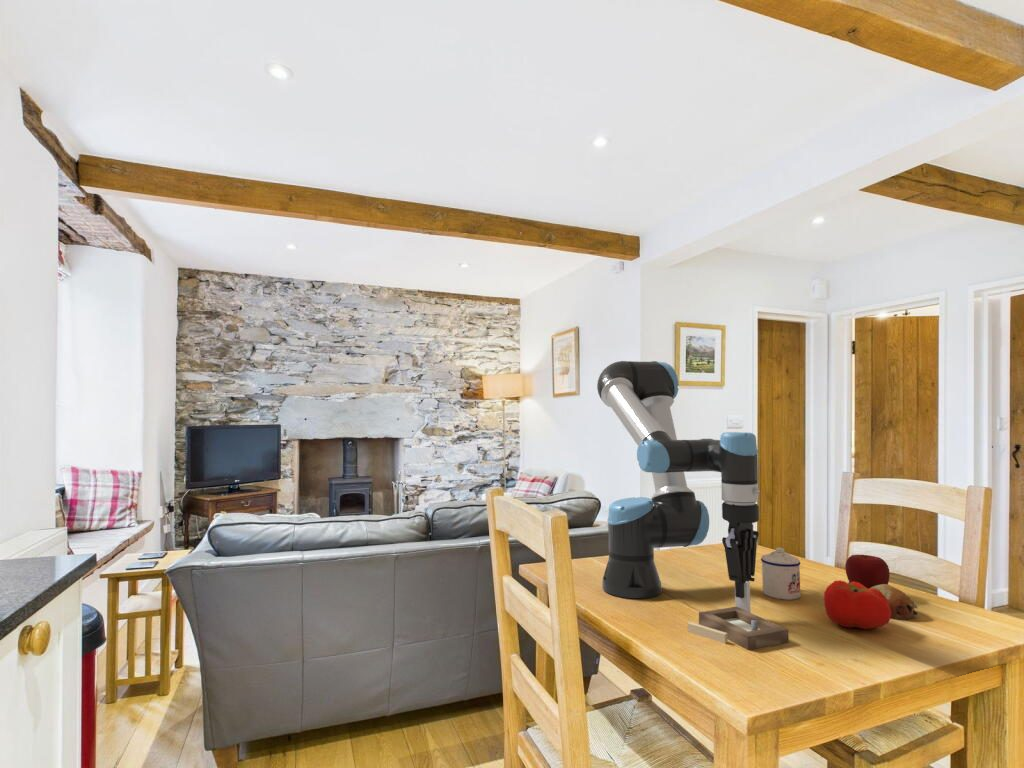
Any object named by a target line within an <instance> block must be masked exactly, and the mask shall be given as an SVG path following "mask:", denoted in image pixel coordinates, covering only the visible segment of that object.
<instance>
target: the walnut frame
mask: <svg viewBox="0 0 1024 768" xmlns="http://www.w3.org/2000/svg"><path fill="white" fill-rule="evenodd" d="M751 620H756V621H758V630H754V631H751ZM698 624H699V625H702V626H705V627H709V628H712V629H715V630H719V631H722V632H725V633H727V641H728V640H729V641H730V642H732V643H734V644H736V645H738V646H740V647H742V648H744V649H746V650H747V651H749V650H750V651H751V650H755V649H759V648H764V647H771V646H776V645H780V644H787V643H789V637H790V636H789V629H787V628H785V627H783V626H781V625H780V624H776V623H774V622H772V621H769V620H768V619H765V618H763V617H761V616H758V615H757V614H754V613H752V612H748V611H745V610H743V609H741V608H739V607H735V606H733V607H732V606H730V607H725V608H719V609H718V608H717V609H713V610H704V611H699V612H698Z"/></svg>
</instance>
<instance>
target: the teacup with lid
mask: <svg viewBox="0 0 1024 768" xmlns="http://www.w3.org/2000/svg"><path fill="white" fill-rule="evenodd" d="M760 561H761V572H762V573H761V574H762V575H761V576H762V593H763V594H764V595H766V596H767V597H769V598H774V599H778V600H784V601H785V600H786V601H788V600H789V601H794V600H797V599H798V600H799V598H801V576H800V575H801V574H800V571H801V570H800V567H801V566H800V565H801V560H800V559H799V558H798V557H795V556H793V555H791V554H790V553H788V552H786V551H785V548H784V547H775V551H771V552H769V553H765V554H763V555H762V556H761V558H760Z"/></svg>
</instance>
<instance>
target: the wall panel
mask: <svg viewBox="0 0 1024 768" xmlns="http://www.w3.org/2000/svg"><path fill="white" fill-rule="evenodd" d="M686 625H687V633H690V634H694V635H696V636H699V637H703V638H706V639H709V640H713V641H715V642H719V643H722V644H727V643H728V639H727V633H725V632H722V631H719V630H715V629H712V628H709V627H705V626H702V625H700V624H699V623H695V622H692V621H689V622H687V623H686ZM754 630H758V621H756V620H751V631H754Z"/></svg>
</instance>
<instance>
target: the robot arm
mask: <svg viewBox="0 0 1024 768" xmlns="http://www.w3.org/2000/svg"><path fill="white" fill-rule="evenodd" d="M599 374H600V375H599V377H598V379H597V383H596V384H597V385H596V386H597V387H596V388H597V393H598V396H599V398H600V400H601V401H602V402H603V404H604V405H605V406H607V407H609V408H610V409H612V411H613V412H614V414H615V415H616V417H617V418H618V419H619V420H620V422H621V424H622V425H623V426H624V428H625V429H626V431H627V432H628V434H629V435H630V436H631V438H632V439H633V441H634V442H635V443H636V445H637V446H638V447H637V449H636V460H637V462H638V466H639V468H640V469H641V471H643V472H644V473H651V475H652V479H653V485H654V489H655V492H654V494H653V495H652V497H651V498H650V497H642V496H639V497H626V498H621V499H617V500H615V501H613V502H611V504H610V505H609V506H608V513H607V514H608V515H607V517H608V518H607V531H608V532H607V533H608V560H607V564H606V566H605V571H604V573H603V577H602V580H601V581H602V583H601V585H602V587H601V588H602V590H603V591H604V592H605V593H607V594H609V595H612V596H615V597H618V598H627V599H647V598H648V599H649V598H654V597H657V596H659V595H661V593H662V581H661V579H660V576H659V572H658V569H657V566H656V563H655V557H654V556H655V553H654V552H655V551H654V549H656V548H657V549H659V548H673V547H675V548H676V547H683V548H687V547H690V546H691V547H692V546H697V545H700V544H701V543H703V542H704V541H705V539H706V538H707V536H708V532H709V529H710V515H709V510H708V507H707V506H706V505H705V503H704V502H703V501H700V500H696V499H697V498H696V494H695V492H694V490H692V489H691V488H689V487H688V484H687V480H686V475H685V472H686V473H689V472H691V473H692V472H693V473H694V472H695V473H696V472H697V473H698V472H699V473H701V472H714V473H715V472H716V473H720V476H721V501H723V503H722V504H721V518H722V519H723V520H724V521H727V523H728V528H727V533H728V534H727V535H728V536H727V537H726V536H725V537H724V536H723V537H722V539H721V541H722V542H721V543H722V544H723V548H724V553H725V561H726V567H727V574H728V575H727V576H728V580H729V581H731V582H732V581H733V582H734V607H739V608H741V609H743V610H745V611H748V612H750V613H752V611H751V588H750V587H751V582H752V583H753V582H755V577H754V576H755V572H756V561H757V560H756V558H757V548H758V547H757V546H758V545H757V544H758V540H759V539H758V538H759V534H760V533H759V531H757V530H754V523H757V522H759V521H760V510H759V509H760V508H759V507H760V505H758V502H759V493H760V491H761V490H760V488H759V485H758V484H759V482H758V481H759V474H758V473H759V470H758V468H759V466H758V459H759V458H758V453H759V450H758V446H757V436H756V435H755V434H754V433H753V432H738V431H737V432H736V431H735V432H734V431H733V432H732V431H728V432H727V431H726V432H721V434H720V439H713V438H700V439H678V437H677V432H676V428H675V424H674V419H673V414H672V409H671V407H672V406H673V404H674V402H675V398H677V395H678V392H679V388H678V386H679V378H678V375H677V373H676V370H675V369H674V368H673V366H672V365H671V364H669V363H668V362H664V361H657V360H652V361H637V360H636V361H631V360H630V361H628V360H621V361H615V362H613V363H610V364H608V365H607V366H606V367H605V368H604V369H603V370H602V372H601V373H599Z"/></svg>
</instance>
